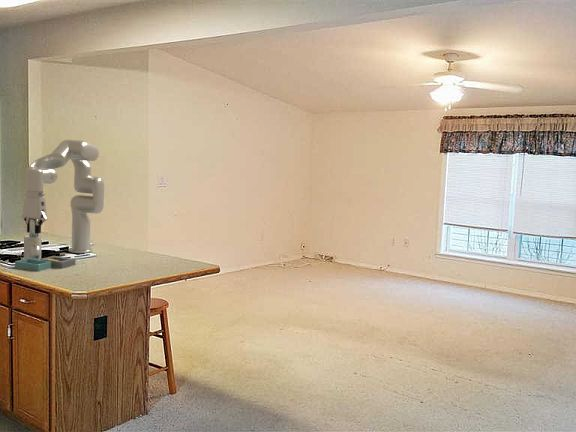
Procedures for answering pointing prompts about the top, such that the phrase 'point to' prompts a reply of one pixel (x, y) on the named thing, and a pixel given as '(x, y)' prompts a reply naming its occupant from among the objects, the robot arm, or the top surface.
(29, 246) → the cup
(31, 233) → the steel cell
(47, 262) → the trough
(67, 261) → the gray tray
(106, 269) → the top surface
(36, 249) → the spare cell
